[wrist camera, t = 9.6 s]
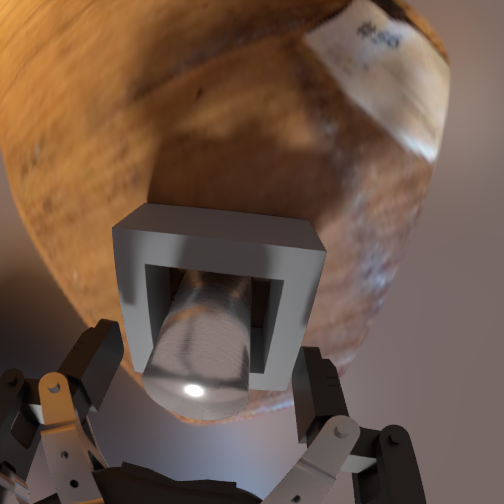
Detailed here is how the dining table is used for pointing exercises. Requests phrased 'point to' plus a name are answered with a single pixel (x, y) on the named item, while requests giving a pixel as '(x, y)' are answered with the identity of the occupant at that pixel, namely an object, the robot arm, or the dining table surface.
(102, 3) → the dining table surface
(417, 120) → the dining table surface
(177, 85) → the dining table surface
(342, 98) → the dining table surface
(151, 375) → the peg
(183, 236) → the box
